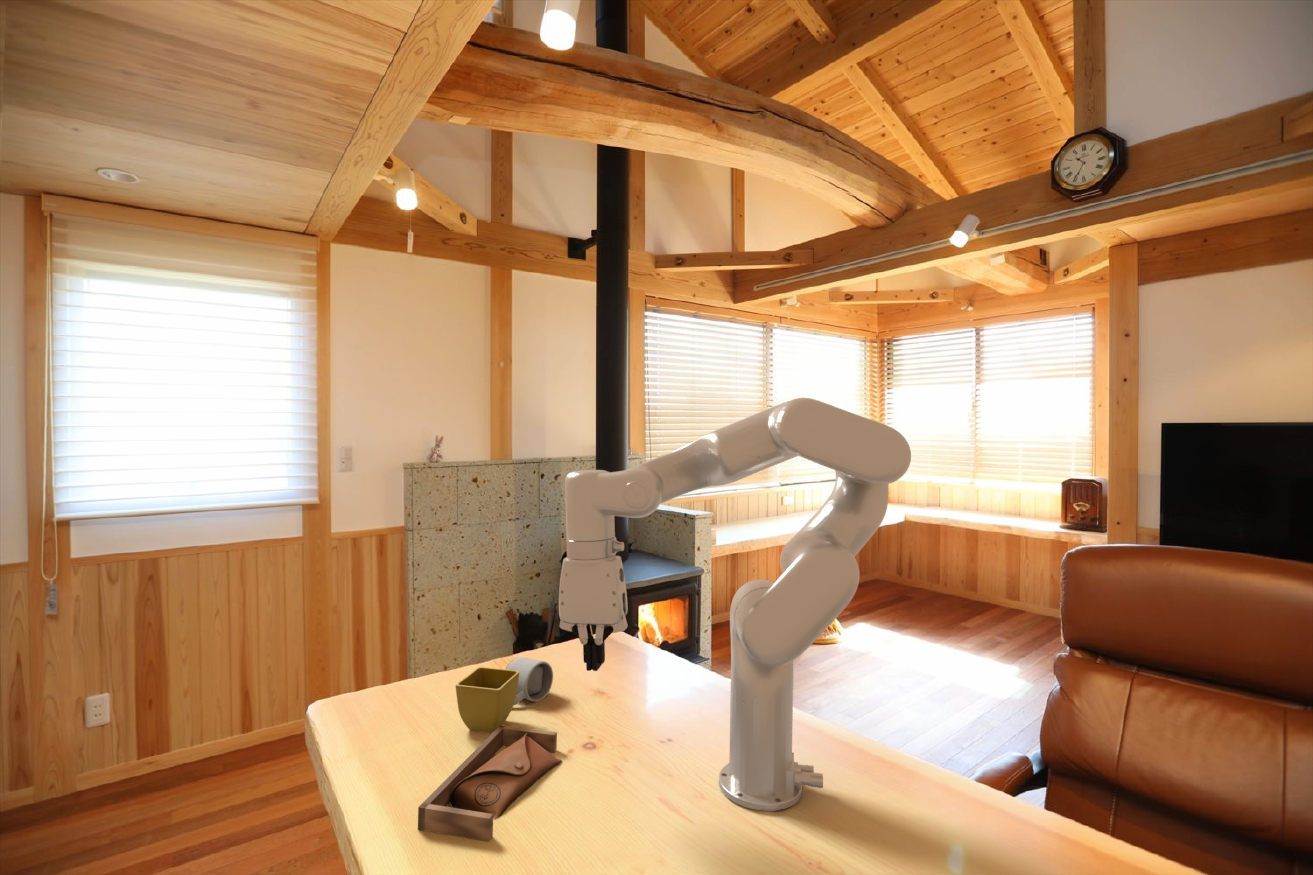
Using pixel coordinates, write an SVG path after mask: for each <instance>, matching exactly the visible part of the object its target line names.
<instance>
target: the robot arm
mask: <svg viewBox="0 0 1313 875" xmlns="http://www.w3.org/2000/svg"><path fill="white" fill-rule="evenodd" d="M796 457H801V458H804V459H805V460H808V461H810V462H813V463H815V464H818V465H820V466H823V467H826V468H829V469H830V470H833V471H835V480H834V481H835V482H834V483H835V484H834V487H833V490H832V491H831V493H830V495H829V496H828V498H827V499H826V501H825V502H824V503H823V504H822V506H821V507H820V508H819V510H818V511H817V512H816V513H815V514H813V516H812V517H810V519H809V520H808V521H807V522H806V523H805V524H804V526H802V528H800V530H799V531H798V532H797V533H796V534H794V535H793V537H792V538H790V539H789V541H788V542H787V543H786V544H785V546H784V547H783V549H782V551H781V552H780V557H779V567H780V570H781V574H780V575H779V577H778V578H777V579H776V580H775V581H774V582H773V581H770V580H766V579H753V580H750V581H747V582H745V583H744V584H743V585H741V586H740V587H739V588H738V589H737V591H736V592H735V593H734V595H733V597H732V600H731V603H730V608H729V629H730V630H729V631H730V655H731V656H730V699H729V700H730V702H729V704H730V705H729V706H730V711H729V762H728V763H727V764H726V765H724V766H723V767H722V769H721V770H720V772H719V775H718V784H719V785H718V786H719V789H720V790H721V792H722V793H723V794H724V795H725V796H726V798H728V799H729V800H730V801H732V802H734V804H737V805H739V806H742V807H744V808H747V809H750V810H756V811H761V810H762V811H764V812H774V811H775V812H776V811H779V810H780V811H782V810H785V809H788V808H790V807H792V806H794V805H796V803H798V802H799V801H800V799H801V798H802V793H803V789H802V788H803V786H808V787H812V788H817V789H823V788H824V775H823V773H819V772H815V771H814V770H815V769H814V765H811V764H810V765H808V764H805V765H804V764H799V762H797V761H795V757H794V756H795V755H794V754H795V753H794V752H793V721H794V720H793V717H794V716H793V714H794V711H793V710H794V709H793V707H794V702H793V701H794V661H796V659H797V658H800V657H801V655H802V654H804V653H805V651H807V650H808V649H809V648H810V646H812V644H813V643H815V641H816V640H817V639H818V638H819V637H820V636H822V634H823V633H824V632H825V631H826V629H827V628H828V627H829V626H830V625H831V624H832V623H833V622H834V621H835V620H836V619H837V618H838V617H839V615H840V614H841V613H842V612H843V611H844V610H845V609H846V608H847V606H848V605H849V604H850V602H852V599H853V598H854V596H855V594H856V592H857V589H858V587H859V582H860V568H859V563H858V562H857V559H856V556H857V555H858V554H859V553H860V551H861V550H862V549H863V547H865V546H866V544H867V543H868V542H869V540H870V539H871V538H872V537H873V535H875V533H876V532H877V531H878V530H879V527H880V526H881V524H882V522H883V521H884V518H885V516H886V513H887V509H888V503H889V494H890V492H889V491H890V490H889V484H893V483H895V482H896V481H899V479H901V478H902V477H903V476H904V475H905V474H906V472H907V471H908V469H909V468H910V465H911V461H912V452H911V447H910V445H909V442H908V441H907V439H906V437H904V435H902V432H901V433H900V431H898V430H897V429H895V428H893V427H891V426H889V425H887V424H884V423H882V422H878V421H876V420H873V419H870V418H867V417H865V416H862V415H860V414H859V415H858V414H856V413H853V412H851V411H847V410H844V409H842V408H840V407H838V406H837V407H836V406H834V405H831V404H828V403H826V402H824V401H820V400H817V399H815V398H809V397H798V398H794V399H790V400H787V401H786V402H782V403H780V404H777V405H775V406H772V407H770V408H768V409H764V410H762V411H759V412H757V413H755V414H753V415H751V416H747V417H745V418H743V419H740V420H738V421H735V422H733V423H731V424H728V425H725V426H723V427H721V428H718V429H716V430H713V431H711V432H709V433H706V434H705V435H702V436H700V437H698V438H697V439H695V440H693V441H692V442H689V443H688V444H686V445H684V446H681V447H679V448H677V449H675V450H672V451H670V452H667V453H665V454H664V453H663V454H661V455H660V456H657V457H655V458H653V459H650V460H648V461H644V462H643V463H639V464H638V465H637V464H636V465H635V466H632V467H630V468H628V469H625V470H619V471H618V470H617V471H612V472H611V471H607V470H604V469H586V470H585V469H584V470H583V469H582V470H574V471H571V472H569V473H567V475H566V477H565V481H564V496H565V497H564V500H565V502H564V503H565V531H566V534H565V535H566V557H564V558H563V560H562V564H561V570H560V579H559V589H558V590H559V592H558V615H559V619H560V620H559V628H560V629H561V630H564V631H566V632H572V633H573V634H574V635H575V636H576V637H577V638H578V639H579V641H580V644H581V645H582V650H583V651H582V653H583V663H584V664H586V665H585V666H586V668H585V669H586V671H587V672H588V671H590V672H591V671H593V672H597V671H599V669H600V668H601V666H602V665H603V664H604V663H605V660H606V650H605V649H606V648H605V646H606V645H605V641H606V640H607V639H608V638H609V636H611V635H612V634H617V633H620V632H624V631H626V629H627V628H628V622H627V619H626V618H627V617H626V616H627V614H628V610H629V609H628V604H629V603H628V596H627V595H628V592H627V585H626V578H625V577H626V576H625V571H624V570H625V569H624V564H623V562H622V557H621V556H620V555H616V554H617V553H619V552H623V551H624V550H625V542H623V541H621V542H620V541H618V540H617V537H616V531H615V529H616V528H615V517H620V518H621V517H622V518H630V519H631V518H634V519H641V518H646V517H648V516H650V515H652V514H653V513H654V512H655V511H657V509H658V508H659V506H660V505H661V504H663V503H666V502H668V501H671V500H672V499H675V498H678V497H680V496H682V495H685V494H688V493H691V492H693V491H694V492H695V491H697V490H700V489H704V488H708V487H709V488H710V487H717V486H718V487H719V486H724V485H728V484H731V483H735V482H738V481H739V480H742V479H745V478H747V477H750V476H752V475H755V474H757V473H759V472H761V471H764V470H766V469H769V468H771V467H775V466H776V465H779V464H781V463H785V462H786V461H789V460H791V459H794V458H796ZM592 625H593V626H596V628H595V635H593V629H592V628H593V627H592ZM781 809H782V810H781Z"/></svg>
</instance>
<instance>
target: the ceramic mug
mask: <svg viewBox="0 0 1313 875" xmlns="http://www.w3.org/2000/svg"><path fill="white" fill-rule="evenodd" d="M505 669H506V670H515V671H519V680H518V687H517V694H516V699H515V702H514V705H513V706H515V705H518V704H519V703H520V702H521V701H524V699H525V700H528V701H530V702H532V703H533V702H535V703H536V702H540V701H542V700H543V699H544V698H546V696H547V695H548V694H549V692H550V690H551V688H552V685H553V681H554V672H553V668H552V665H551V664H550V663H549V662H547V661H544V660H538V659H533V658H528V657H515V658H513V659H512V660H511V661H510V662H509V663H507V665H506V668H505Z"/></svg>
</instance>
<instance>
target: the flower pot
mask: <svg viewBox="0 0 1313 875" xmlns="http://www.w3.org/2000/svg"><path fill="white" fill-rule="evenodd" d="M518 680H519V671H515V670H506V668H493V667H485V666H478V667H476V668H475V669H473V671H472V672H470V673H469V674H468V675H467V676H465V677H464V678H462V679H461V680H460V681H458V682H457V683H456V684H455V694H456V700H457V701H456V702H457V708H458V713H459V716H460V718H461V720H462V722H463V724H464V725H465V726H466V728H467V729H468V730H469V731H477V732H484V733H493V732H494V731H495V730H496V729H497V728H498V727H499V726H500V725H503V724H504V723H505V722H506V721H507V719H508V717H509V715H510V713H511V712H512V710H513V707H514V706H515V705H514V702H515V699H516V694H517V687H518Z"/></svg>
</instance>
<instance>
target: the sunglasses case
mask: <svg viewBox="0 0 1313 875" xmlns="http://www.w3.org/2000/svg"><path fill="white" fill-rule="evenodd" d="M562 762H563V760H562V759H560V758H557V757H555V756H554V755H553V754H552V753H551V752H548V751H546V750H545V749H544V748H543V747H542V746H540V745H539V744H538V743H536V742H535V741H534V740H532V739H531V738H530V737H528V733H526V734H525V735H524V736H523V737H522V738H521V739H519V740H518V741H517V742H515V743H513V744H512V745H510V746H509V747H507V746H506V748H504V749H503V750H502V751H500V752H498V753H497V754H495V755H494V756H493V757H492V758H491V759H490V760H489V761H488V762H487V763H485V764H484V765H483V766H481V767H480V768H479V769H477V770H476V771H475V772H474V773H472V774H471V775H470V776H468V777H466V778H464V779H463V780H462V781H461V782H459V783H458V784H457V785H456V786H455V787H454V789H453V790H452V792H451V796H450V801H451V802H450V805H451V808H458V809H464V810H470V811H477V812H483V813H489V814H493V820H497V819H499V818H500V817H501V816H502V815H503V814H504V812H506V810H507V809H508V808H509V807H510V806H511V805H512V804H513V803H514V802H516V801H517V799H518V798H520V796H522V795H523V794H524V793H525V792H526V791H527V790H528V789H530V788H531V787H532V786H533V785H534V784H535V783H537V781H539V780H540V779H541V778H543V776H545V774H547V773H548V772H550V771H551V770H552V769H553V768H555V767H556V766H559V765H560V764H561V763H562Z"/></svg>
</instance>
